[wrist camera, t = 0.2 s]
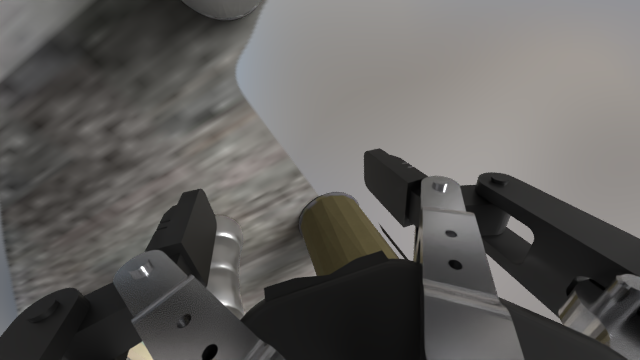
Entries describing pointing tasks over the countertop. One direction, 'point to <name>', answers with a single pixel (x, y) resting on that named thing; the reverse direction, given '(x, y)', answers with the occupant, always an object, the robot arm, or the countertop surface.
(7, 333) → the robot arm
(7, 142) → the countertop surface
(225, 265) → the plastic bottle
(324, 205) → the canister
